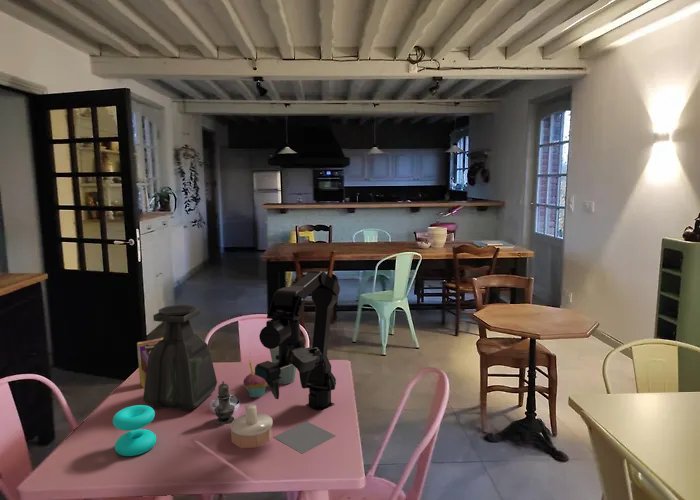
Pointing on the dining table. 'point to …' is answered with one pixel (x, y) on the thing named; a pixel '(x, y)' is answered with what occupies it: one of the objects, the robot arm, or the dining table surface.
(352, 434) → the dining table surface
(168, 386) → the bottle
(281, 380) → the disposable coffee cup
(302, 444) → the mat
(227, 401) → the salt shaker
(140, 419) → the donuts
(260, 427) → the lid
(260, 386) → the cupcake
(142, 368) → the candy box
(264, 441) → the bowl
